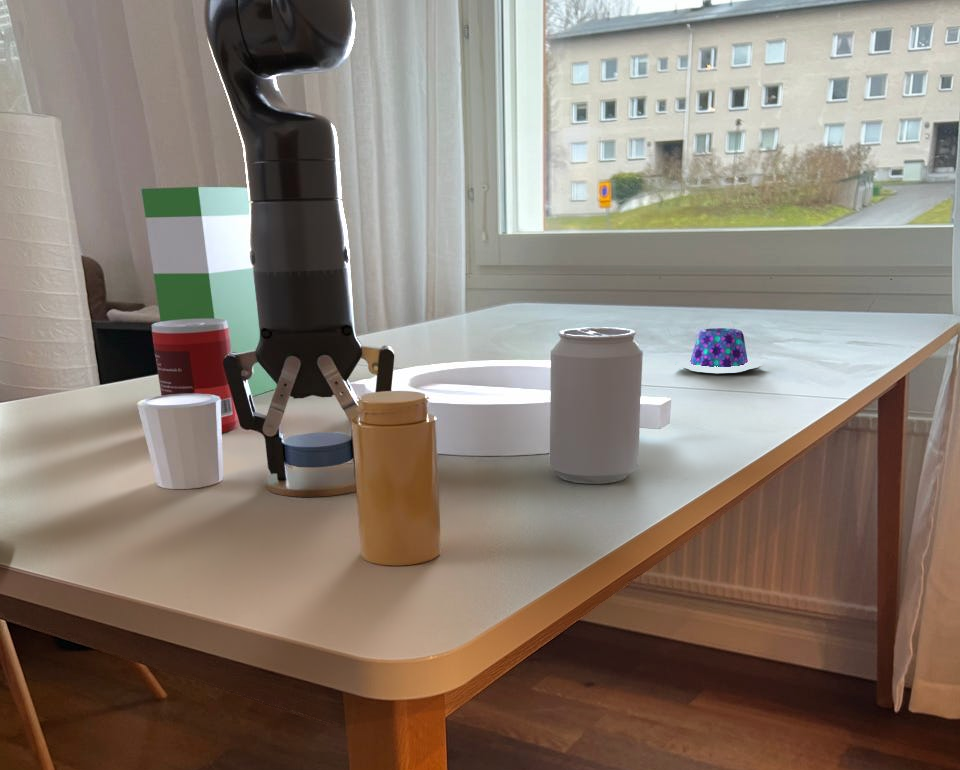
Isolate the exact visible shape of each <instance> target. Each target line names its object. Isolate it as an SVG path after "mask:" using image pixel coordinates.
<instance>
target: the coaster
mask: <svg viewBox="0 0 960 770" xmlns="http://www.w3.org/2000/svg"><path fill="white" fill-rule="evenodd" d="M265 485H266V489H267V490H268V491H269V492H270V493H273V494H277V495H281V496H287V497H294V498H295V497H296V498H318V497H319V498H322V497H332V496H339V495H344V494H350V493H354V492H356V480H355V476H354V464H347V463H343V464H339V465H334V466H327V467H296V466H292V467H287V479H286V480H279V481H278V479H277V474H271V473H270V474H269V475H268V476H267V477H266V478H265Z"/></svg>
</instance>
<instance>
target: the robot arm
mask: <svg viewBox="0 0 960 770" xmlns="http://www.w3.org/2000/svg"><path fill="white" fill-rule="evenodd" d="M353 5H354V4H353V2H352V0H204V4H203V23H204V30H205V34H206V39H207V42H208V46H209V49H210V52H211V55H212V58H213V61H214V63H215V66H216V68H217V72H218V73H219V76H220V77H219V78H220V80H221V82H222V84H223V88H224V90H225V93H226V96H227V99H228V102H229V106H230V109H231V111H232V115H233V118H234V122H235V123H236V127H237V130H238V133H239V136H240V140H241V143H242V148H243V158H244V163H245V164H244V165H245V166H244V167H245V175H246V185H247V188H248V195H249V201H251V203H249V208H250V222H249V235H250V247H251V251H250V260H251V264H252V266H253V275H254V284H255V293H256V302H257V312H258V321H259V330H260V338H259V343H258V345H257V347H256V350H252V351H247V352H242V353H236V352H230V353H229V354H227V355H226V356H225V358H224V360H223V367H224V370H225V374H226V377H227V381H228V384H229V388H230V392H231V395H232V399H233V402H234V406H235V409H236V413H237V416H238V420H239V421H238V424H239V426H240V427H241V429H243V430H245V431H254V432H257V433H260V434H261V435H262V437H263V438H264V441H265V442H264V443H265V452H266V453H265V454H266V460H267V469H268V471H269V472H270V475H271V474H277V479H278V481H279V480H286V479H287V469H288V464H287V463H285V458H284V449H283V441H284V440H285V434H284V431H281V422H282V420H283V417H284V414H285V411H286V409H287V406H288V403H289V401H290V397H291V398H293V399H295V400H296V399H305V398H308V397H311V396H314V397H319V398H333V396H334V397H335V399H336V400H337V402H338V404H339V406H340V407H341V409H342V410H343V412H344V414H345V415H346V417H347V419H348V421H349V422H350V424H351V421H352V419H353V418H355V417H358V416H359V412H357V409H356V408H358V400H357V398H356V395H355V393H354V391H353V389H352V388H351V386H350V384H349V383H350V382H349V378H350V377H351V376H352V373H353V372H354V370H355V369H356V367H357V365H358V364H359V362H360V360H361V359H363V360H364V361H365V362H366V363H367V368H368V369H367V370H368V371H369V372H370V373H371V374H372V375H374V376H377V379H376V390H375V392H383V391H391V387H392V377H393V371H394V365H395V353H394V350H393V348H392V347H391V346H389V345H382V346H381V347H376V346H370V345H362V343H361V341H360V340H359V339H358V336H357V334H356V331H355V329H356V328H355V317H354V304H353V289H352V287H353V286H352V275H351V262H350V260H351V252H350V247H349V236H348V228H347V223H346V217H345V213H344V207H343V201H342V199H343V196H342V182H341V168H340V167H341V166H340V154H339V143H338V136H337V131H336V128H335V125H334V124H333V122H332V121H331V120H330V119H329V118H328V117H326V116H324V115H323V114H319V113H315V112H310V111H306V110H299V109H295V108H291V107H289V106H288V105H287V102H286V101H285V98H284V97H283V94H282V92H281V91H280V88H279V86H278V83H277V78H276V77H283V76H294V75H295V76H296V75H311V74H313V75H314V74H322V73H327V72H331V71H334V70H336V69H338V68H339V67H340V66H342V65H343V64H344V63H345V62H346V61H347V59H348V57H349V55H350V53H351V51H352V49H353V48H352V47H353V45H354V41H355V40H354V39H355V35H356V34H355V33H356V31H355V30H356V20H355V11H354V6H353ZM255 363H259V364H260V365H261V366H262V367H263V369H264V370H265V371H266V372H267V373H268V375H269V376H270V377H271V378H272V379H273V380H274V382H275V383H276V384H277V387H276V389H274V392H273V396H272V398H271V401H270V405H269V407H268V410H267V413H266V414H263V413H259V412H257V410H256V406H255V402H254V400H253V399H254V398H253V397H252V395H251V392H250V388H249V384H248V381H247V380H248V379H250V378H251V376H252V375H253V366H254V364H255ZM350 436H351V437H352V427H351V431H350ZM352 450H353V439H352ZM352 461H353V463H352V465H354V452H353V459H352ZM354 476H355V466H354Z"/></svg>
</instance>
